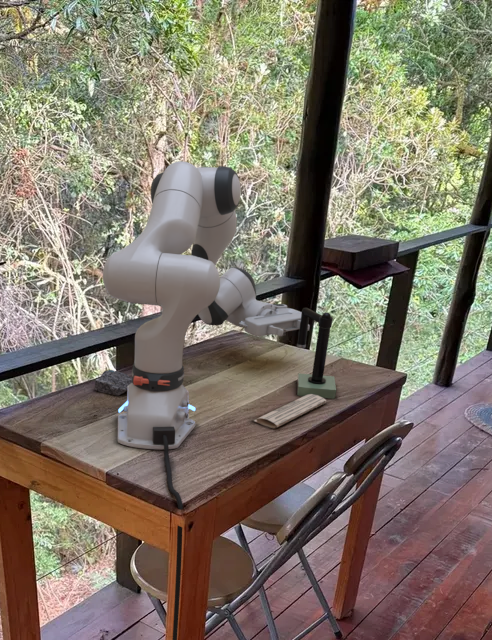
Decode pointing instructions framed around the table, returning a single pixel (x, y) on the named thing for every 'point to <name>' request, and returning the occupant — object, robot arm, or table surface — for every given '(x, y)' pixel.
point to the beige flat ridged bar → (290, 411)
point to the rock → (113, 382)
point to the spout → (323, 321)
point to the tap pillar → (320, 356)
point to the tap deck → (316, 386)
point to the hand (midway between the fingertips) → (295, 330)
